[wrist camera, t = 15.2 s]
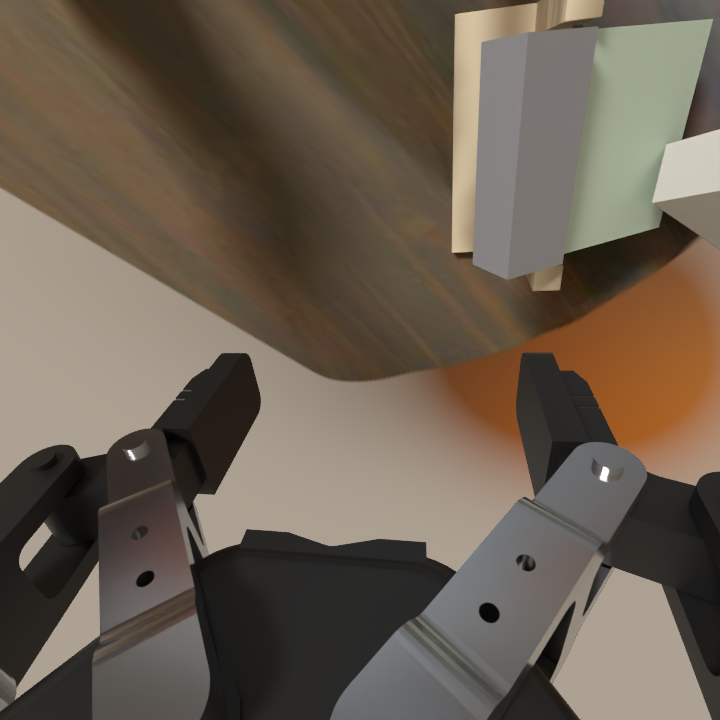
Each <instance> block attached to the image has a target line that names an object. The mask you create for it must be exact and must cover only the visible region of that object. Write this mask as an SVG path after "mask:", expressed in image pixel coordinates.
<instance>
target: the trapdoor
mask: <svg viewBox="0 0 720 720" xmlns="http://www.w3.org/2000/svg"><path fill="white" fill-rule="evenodd" d="M712 22H713V19H707V20H695V21H683V22H671V23H659V24H648V25H636V26H624V27H612V28H600V29H598V27H599V26H597V27H585V28H583V24H579V25H573V26H572V29H561V30H549V31H537V32H527V33H522V34H517V35H513V36H508V37H503V38H498V39H494V40H489V41H484V42H481V67H480V92H479V117H478V142H477V167H476V192H475V217H474V242H473V265H476V266H478V267H480V268H482V269H484V270H487V271H489V272H491V273H493V274H496V275H498V276H500V277H502V278H504V279H507V280H508V279H512V278H515V277H519V276H522V275H526V274H529V273H533V272H536V271H540V270H543V269H546V268H550V267H553V266H557V265H560V264H563V257H564V254H565V253H569V252H572V251H576V250H580V249H583V248H587V247H590V246H594V245H597V244H601V243H605V242H608V241H612V240H615V239H619V238H623V237H626V236H630V235H633V234H637V233H640V232H644V231H648V230H651V229H655V228H658V227H659V225H660V221H661V217H662V214H663V210H661V209H660V208H659V207H657V206H656V205H654V204H653V203H652V201H653V197H654V193H655V189H656V185H657V180H658V176H659V172H660V168H661V164H662V160H663V156H664V152H665V148H666V144H670V143H673V142H677V141H680V140H682V137H683V133H684V129H685V125H686V121H687V118H688V114H689V110H690V106H691V102H692V98H693V95H694V91H695V87H696V83H697V79H698V75H699V72H700V68H701V64H702V60H703V56H704V52H705V49H706V45H707V41H708V37H709V33H710V29H711V26H712Z"/></svg>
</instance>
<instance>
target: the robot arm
mask: <svg viewBox="0 0 720 720" xmlns="http://www.w3.org/2000/svg"><path fill="white" fill-rule="evenodd" d="M260 404H261V397H260V392H259V388H258V384H257V381H256V377H255V374H254V370H253V366H252V362H251V359H250V357H249V355H248V354H246V353H223V354H221V355H220V356H219V357H218V358H217V359H216V361H215V362H214V364H213V365H212V366H211V367H210V368H209V369H206V370H204V371H202V372H201V373H200V374H198V375H197V376H195V377H194V378H192V379H191V381H190V382H189V383H188V384H187V385H186V386H185V388H184V389H183V391H182V392H181V393H180V394H179V395H178V396H177V397H176V400H174V401H173V402H172V403H171V405H170V406H169V407H168V408H167V410H166V411H165V412H164V413H163V414H162V416H161V417H160V418H159V419H158V420H157V422H156V423H155V424H154V425H153V426H152V428H151V429H142V430H138V431H135V432H133V433H130V434H128V435H126V436H124V437H122V438H121V439H119V440H118V441H117V442H116V443H114V444H113V446H112V447H111V448H110V449H109V451H108V453H107V454H103V455H99V456H94V457H88V458H83V459H80V457H79V455H78V454H77V452H76V450H75V449H74V448H73V447H72V446H69V445H57V446H52V447H48V448H46V449H43V450H41V451H38V452H37V453H35V454H33V455H31V456H30V457H28V458H27V459H25V460H24V461H23V462H22V463H21V464H19V465H18V466H17V467H16V468H15V469H14V470H13V471H12V472H11V473H10V474H9V475H8V476H7V477H6V478H5V479H4V480H3V481H2V482H1V483H0V720H580V719H579V718H578V716H577V715H576V714H575V713H574V711H573V710H572V709H571V708H570V706H569V705H568V704H567V702H566V701H565V700H564V699H563V697H562V696H561V695H560V694H559V692H558V691H557V690H556V689H555V687H554V686H553V685H552V684H553V682H554V680H555V678H556V676H557V675H558V673H559V671H560V669H561V668H562V666H563V664H564V662H565V660H566V658H567V656H568V654H569V652H570V650H571V648H572V646H573V643H574V641H575V639H576V636H577V634H578V632H579V630H580V628H581V626H582V625H583V622H584V621H585V619H586V617H587V615H588V614H589V612H590V610H591V608H592V607H593V605H594V603H595V602H596V600H597V598H598V596H599V595H600V593H601V591H602V589H603V588H604V586H605V584H606V582H607V581H608V579H609V577H610V575H611V574H612V572H613V570H614V568H617V569H620V570H623V571H626V572H629V573H632V574H634V575H637V576H640V577H643V578H646V579H649V580H652V581H654V582H657V583H660V584H662V587H663V589H664V592H665V595H666V597H667V600H668V603H669V605H670V608H671V611H672V614H673V616H674V619H675V622H676V624H677V627H678V630H679V632H680V635H681V638H682V640H683V643H684V646H685V648H686V651H687V653H688V656H689V659H690V662H691V664H692V667H693V670H694V672H695V675H696V678H697V681H698V683H699V686H700V688H701V691H702V694H703V697H704V699H705V702H706V705H707V707H708V710H709V713H710V715H711V718H712V720H720V472H712V473H708V474H706V475H704V476H702V477H701V478H700V479H699V481H698V483H697V485H696V486H693V485H690V484H686V483H682V482H678V481H674V480H670V479H666V478H663V477H659V476H656V475H654V474H651V473H649V472H647V471H646V468H645V466H644V465H643V463H642V462H641V461H640V460H639V459H638V458H637V457H636V456H635V455H634V454H632V453H631V452H629V451H628V450H626V449H624V448H622V447H619V446H618V444H617V442H616V440H615V438H614V436H613V434H612V432H611V430H610V428H609V426H608V424H607V422H606V420H605V418H604V416H603V414H602V412H601V410H600V409H599V406H598V403H597V401H596V399H595V398H594V397H593V393H592V391H591V389H590V387H589V385H588V383H587V382H586V381H585V380H584V379H583V378H581V377H580V376H579V375H578V374H577V373H575V372H574V371H560V370H559V367H558V365H557V362H556V360H555V357H554V355H553V354H552V353H523V354H522V357H521V364H520V372H519V381H518V390H517V399H516V412H517V421H518V425H519V429H520V434H521V438H522V443H523V447H524V451H525V456H526V460H527V464H528V468H529V473H530V477H531V481H532V486H533V490H534V495H535V498H534V499H533V500H532V501H531V500H530V499H528V498H526V497H523V498H521V499H520V500H518V501H517V503H515V505H514V506H513V507H512V508H511V509H510V510H509V512H508V513H507V514H506V515H505V516H504V517H503V519H502V520H501V521H500V522H499V523H498V524H497V526H496V527H495V528H494V529H493V530H492V531H491V533H490V534H489V535H488V536H487V537H486V538H485V540H484V541H483V542H482V543H481V545H480V546H479V547H478V548H477V549H476V550H475V551H474V553H473V554H472V555H471V556H470V557H469V559H468V560H467V561H466V562H465V563H464V564H463V565H462V567H461V568H460V569H459V570H458V572H456V571H454V570H452V569H451V568H449V567H448V566H446V565H444V564H442V563H439V562H437V561H435V560H432V559H429V558H427V557H426V542H413V541H399V540H386V539H376V540H370V541H364V542H358V543H351V544H345V545H339V546H327V545H324V544H321V543H318V542H315V541H312V540H309V539H306V538H303V537H300V536H297V535H294V534H292V533H289V532H276V531H262V530H249V529H247V530H246V532H245V535H244V537H243V539H242V542H241V544H238V545H234V546H230V547H227V548H224V549H222V550H219V551H216V552H214V553H212V554H210V555H209V553H208V549H207V546H206V542H205V538H204V535H203V531H202V527H201V524H200V520H199V516H198V512H197V509H196V506H195V504H194V502H193V500H194V499H195V497H196V495H197V494H213V495H214V494H215V493H216V491H217V489H218V487H219V485H220V484H221V481H222V480H223V478H224V476H225V474H226V472H227V471H228V469H229V467H230V465H231V463H232V461H233V459H234V458H235V456H236V454H237V452H238V450H239V448H240V447H241V445H242V443H243V441H244V439H245V437H246V436H247V434H248V432H249V430H250V428H251V426H252V424H253V423H254V421H255V419H256V417H257V415H258V413H259V410H260ZM43 522H44V523H45V524H46V525H47V527H48V528H49V529H50V531H51V532H52V535H51V536H50V538H49V539H48V540H47V542H46V543H45V544H44V545H43V547H42V548H41V549H40V550H39V552H38V553H37V554H36V555H35V557H34V558H33V559H32V561H31V562H30V563H29V564H28V566H27V567H26V568H25V569H24V571H22V570H21V568H20V566H19V556H20V553H21V550H22V549H23V547H24V545H25V544H26V543H27V541H28V540H29V539H30V538H31V537H32V536H33V534H34V533H35V532H36V531H37V530H38V528H39V527H40V526H41V525H42V523H43ZM98 561H99V594H100V595H99V596H100V636H99V637H97V638H96V639H95V640H93V641H92V642H91V643H89V644H88V645H87V646H86V647H84V648H83V649H82V650H80V651H79V652H78V653H76V654H75V655H74V656H72V657H71V658H70V659H68V660H67V661H66V662H64V663H63V664H62V665H61V666H59V667H58V668H57V669H55V670H54V671H53V672H51V673H50V674H49V675H47V676H46V677H45V678H43V679H42V680H41V681H40V682H38V683H37V684H36V685H34V686H33V687H32V688H30V689H29V690H28V691H26V692H25V693H24V694H22V695H21V696H20V697H19V698H17V699H16V700H15V696H16V688H17V686H18V685H19V683H20V682H21V680H22V678H23V677H24V675H25V674H26V672H27V671H28V669H29V667H30V666H31V664H32V663H33V661H34V660H35V658H36V657H37V655H38V654H39V652H40V651H41V649H42V647H43V646H44V644H45V643H46V641H47V640H48V638H49V637H50V635H51V634H52V632H53V630H54V629H55V627H56V626H57V624H58V623H59V621H60V620H61V618H62V617H63V615H64V613H65V612H66V610H67V609H68V607H69V606H70V604H71V603H72V601H73V600H74V598H75V596H76V595H77V593H78V592H79V590H80V589H81V587H82V586H83V584H84V583H85V581H86V579H87V578H88V576H89V575H90V573H91V572H92V570H93V568H94V567H95V565H96V564H97V562H98ZM14 700H15V701H14Z"/></svg>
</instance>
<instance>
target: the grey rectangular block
mask: <svg viewBox="0 0 720 720" xmlns="http://www.w3.org/2000/svg"><path fill="white" fill-rule="evenodd" d="M652 203H653V204H654V205H656V206H657V207H659V208H660V209H661V210H663V211H664V212H666V213H667V214H669V215H670V216H672V217H673V218H675V219H676V220H677V221H679V222H680V223H682V224H683V225H685V226H686V227H688V228H689V229H691V230H692V231H693V232H695V233H696V234H698V235H699V236H701V237H702V238H704V239H705V240H707V241H708V242H709V243H711V244H713V245H714V246H715V247H717V248H718V249H720V129H719V130H715V131H712V132H708V133H705V134H701V135H698V136H694V137H691V138H687V139H684V140H680V141H677V142H673V143H670V144H666V148H665V152H664V156H663V160H662V164H661V168H660V172H659V176H658V180H657V185H656V189H655V193H654V197H653V201H652Z"/></svg>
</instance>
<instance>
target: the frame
mask: <svg viewBox="0 0 720 720" xmlns="http://www.w3.org/2000/svg"><path fill="white" fill-rule="evenodd" d="M603 5H604V0H540V1H539V2H537V3H532V4H525V5H518V6H511V7H504V8H496V9H489V10H482V11H475V12H468V13H461V14H455V48H454V121H453V194H452V253H457V252H473V242H474V217H475V192H476V167H477V142H478V117H479V92H480V67H481V42H484V41H489V40H494V39H498V38H503V37H508V36H513V35H517V34H522V33H527V32H537V31H549V30H561V29H571V28H572V26H573V25H579V24H584V23H586V22H589V21H591V20H594V19H596V18H599V17H602V11H603ZM562 272H563V264H560V265H557V266H553V267H550V268H546V269H543V270H540V271H536V272H533V273H529V274H526V277H527V279H528V282H529V284H530V286H531V288H532V291H548V290H560V285H561V278H562Z"/></svg>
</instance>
